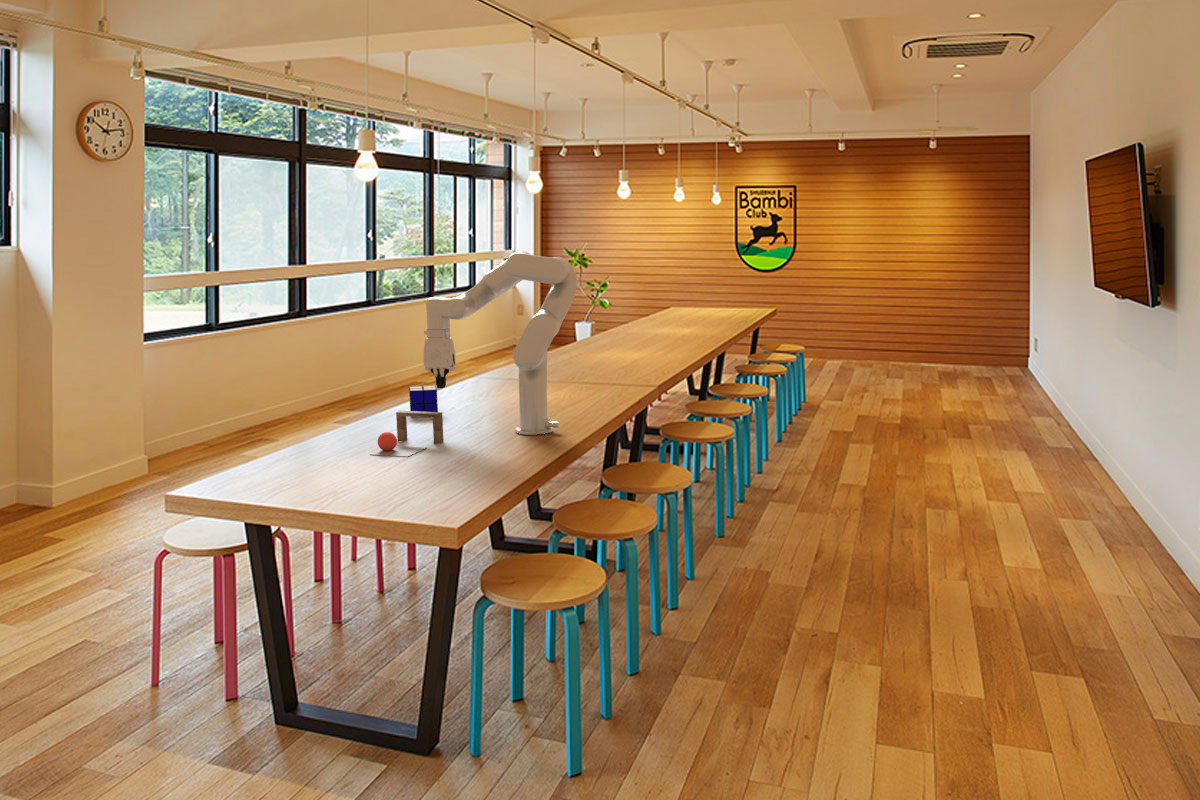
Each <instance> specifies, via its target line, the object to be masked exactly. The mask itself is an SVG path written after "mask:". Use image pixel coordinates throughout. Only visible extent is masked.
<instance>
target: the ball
mask: <svg viewBox="0 0 1200 800" xmlns="http://www.w3.org/2000/svg"><path fill="white" fill-rule="evenodd" d="M397 444H398V438H397V436H396V435H395V434H394V433H392V432H391V431H386V432H382V433H381V434H380V435H379V436H378V438H377V445H378V448H379V450H381V449H382V450H383V451H391V450H393V449H394V448H395V447H396V446H398V445H397Z"/></svg>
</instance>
